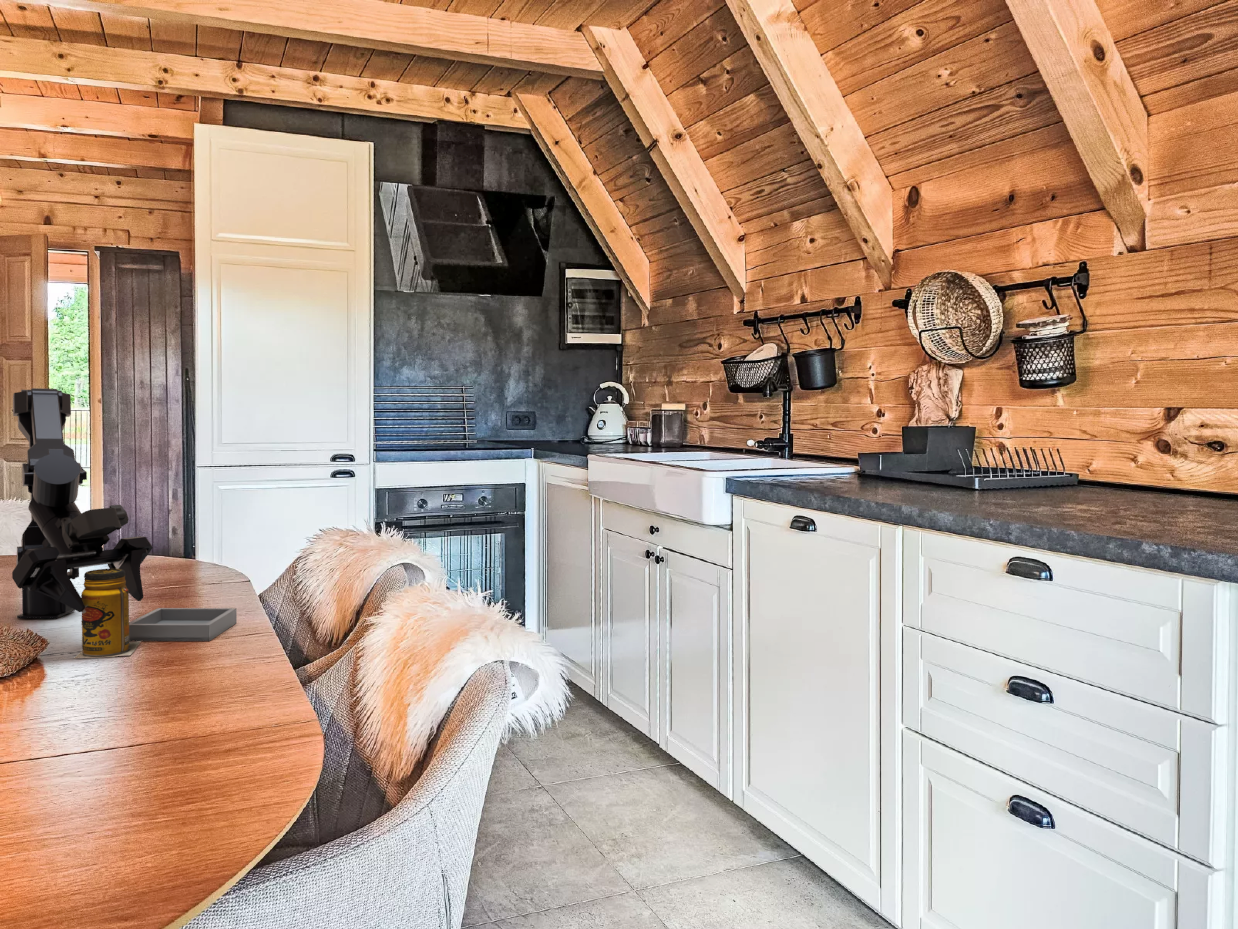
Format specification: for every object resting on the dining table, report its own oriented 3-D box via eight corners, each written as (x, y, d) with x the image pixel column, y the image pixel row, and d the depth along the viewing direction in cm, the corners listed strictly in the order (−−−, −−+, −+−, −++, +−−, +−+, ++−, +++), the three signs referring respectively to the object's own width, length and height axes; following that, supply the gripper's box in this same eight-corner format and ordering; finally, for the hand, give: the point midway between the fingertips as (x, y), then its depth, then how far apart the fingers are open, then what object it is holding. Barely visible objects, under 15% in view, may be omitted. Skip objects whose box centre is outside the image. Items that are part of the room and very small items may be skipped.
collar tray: (124, 641, 142) (123, 625, 142) (158, 622, 154) (158, 608, 154) (209, 641, 143) (209, 625, 143) (236, 623, 155) (236, 608, 155)
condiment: (72, 660, 131) (71, 575, 131) (87, 645, 139) (86, 566, 139) (130, 656, 133) (129, 573, 133) (141, 643, 141) (141, 564, 141)
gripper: (23, 492, 128) (76, 578, 124) (144, 484, 145) (194, 560, 141) (-11, 544, 132) (39, 630, 128) (111, 531, 149) (158, 606, 145)
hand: (112, 604), depth 135 cm, fingers open, 9 cm apart
